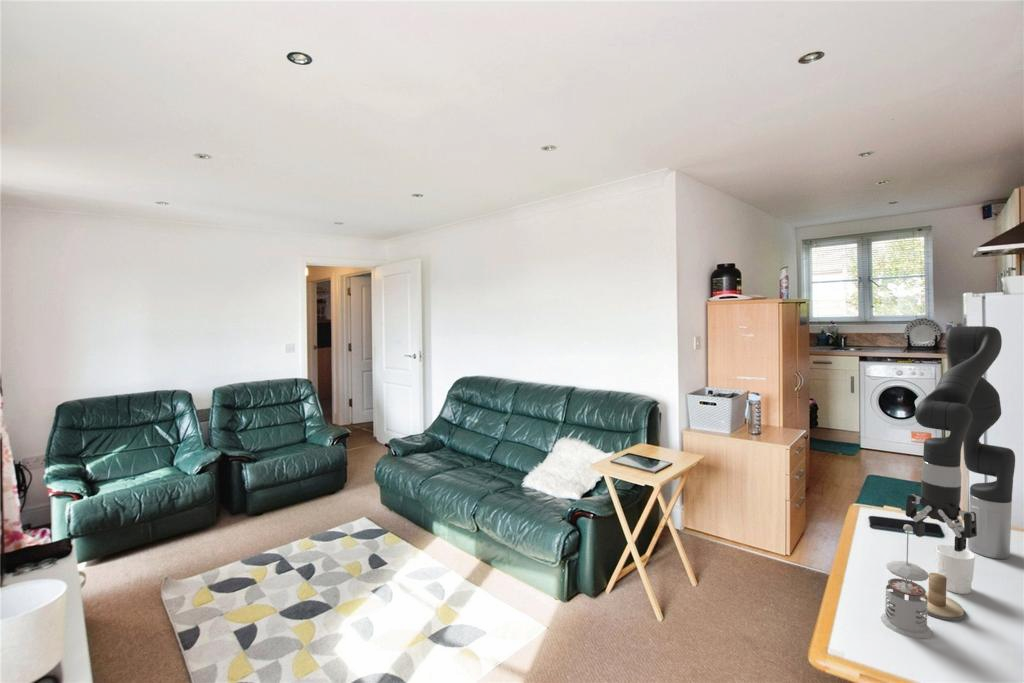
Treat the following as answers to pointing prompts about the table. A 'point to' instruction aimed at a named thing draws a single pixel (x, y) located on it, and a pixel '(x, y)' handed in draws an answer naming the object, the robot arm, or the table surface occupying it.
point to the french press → (906, 612)
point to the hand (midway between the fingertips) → (938, 543)
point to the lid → (941, 598)
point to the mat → (949, 618)
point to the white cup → (955, 568)
